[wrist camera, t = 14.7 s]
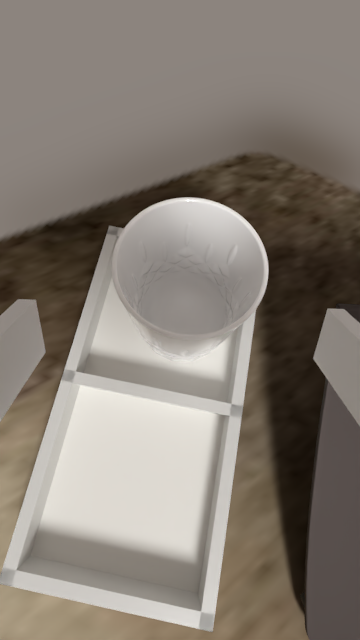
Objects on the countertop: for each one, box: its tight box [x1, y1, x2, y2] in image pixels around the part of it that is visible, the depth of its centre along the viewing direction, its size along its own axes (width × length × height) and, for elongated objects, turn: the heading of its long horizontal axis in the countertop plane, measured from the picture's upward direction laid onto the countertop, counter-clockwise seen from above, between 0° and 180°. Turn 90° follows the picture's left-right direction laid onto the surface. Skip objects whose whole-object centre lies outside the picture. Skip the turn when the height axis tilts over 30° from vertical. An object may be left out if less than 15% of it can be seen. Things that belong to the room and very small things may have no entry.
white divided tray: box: [0, 226, 256, 632], centre depth 23 cm, size 13×24×3 cm, turn 169°
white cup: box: [112, 197, 269, 362], centre depth 20 cm, size 8×8×10 cm
